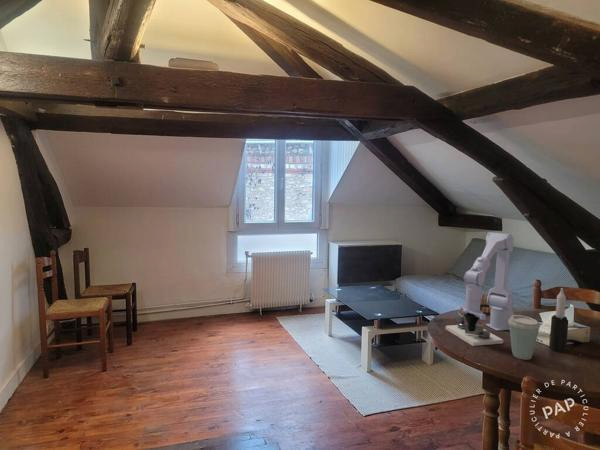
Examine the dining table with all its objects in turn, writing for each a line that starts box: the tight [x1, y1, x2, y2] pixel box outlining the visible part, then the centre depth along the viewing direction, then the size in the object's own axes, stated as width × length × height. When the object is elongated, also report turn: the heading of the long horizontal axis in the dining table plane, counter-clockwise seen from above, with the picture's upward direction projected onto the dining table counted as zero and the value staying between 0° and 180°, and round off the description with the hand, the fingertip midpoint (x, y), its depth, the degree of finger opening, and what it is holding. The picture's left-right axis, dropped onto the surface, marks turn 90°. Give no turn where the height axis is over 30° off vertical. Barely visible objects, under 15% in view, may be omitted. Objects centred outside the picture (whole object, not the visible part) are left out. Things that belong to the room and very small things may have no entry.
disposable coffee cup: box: [508, 314, 541, 361], centre depth 157 cm, size 11×11×15 cm
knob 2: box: [465, 322, 491, 339], centre depth 174 cm, size 10×4×4 cm, turn 63°
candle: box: [549, 287, 569, 354], centre depth 164 cm, size 5×5×25 cm
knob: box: [455, 312, 467, 329], centre depth 187 cm, size 10×4×4 cm, turn 178°
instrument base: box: [445, 324, 504, 347], centre depth 179 cm, size 14×20×2 cm
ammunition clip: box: [480, 290, 491, 316], centre depth 208 cm, size 11×2×12 cm, turn 78°
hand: (471, 331), depth 174 cm, fingers closed
